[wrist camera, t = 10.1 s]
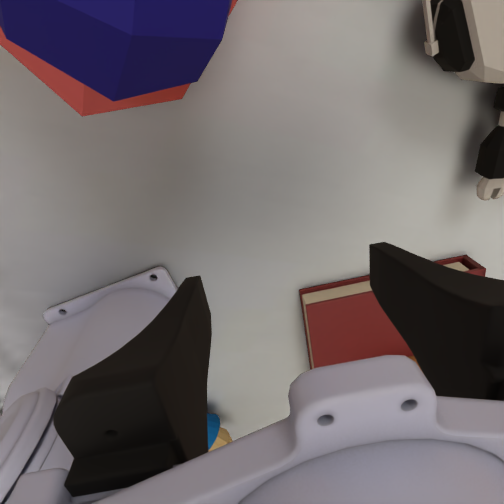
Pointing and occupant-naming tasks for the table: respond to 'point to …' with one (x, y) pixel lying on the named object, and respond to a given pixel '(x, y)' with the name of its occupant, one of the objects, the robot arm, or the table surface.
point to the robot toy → (473, 67)
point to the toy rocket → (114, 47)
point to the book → (356, 319)
